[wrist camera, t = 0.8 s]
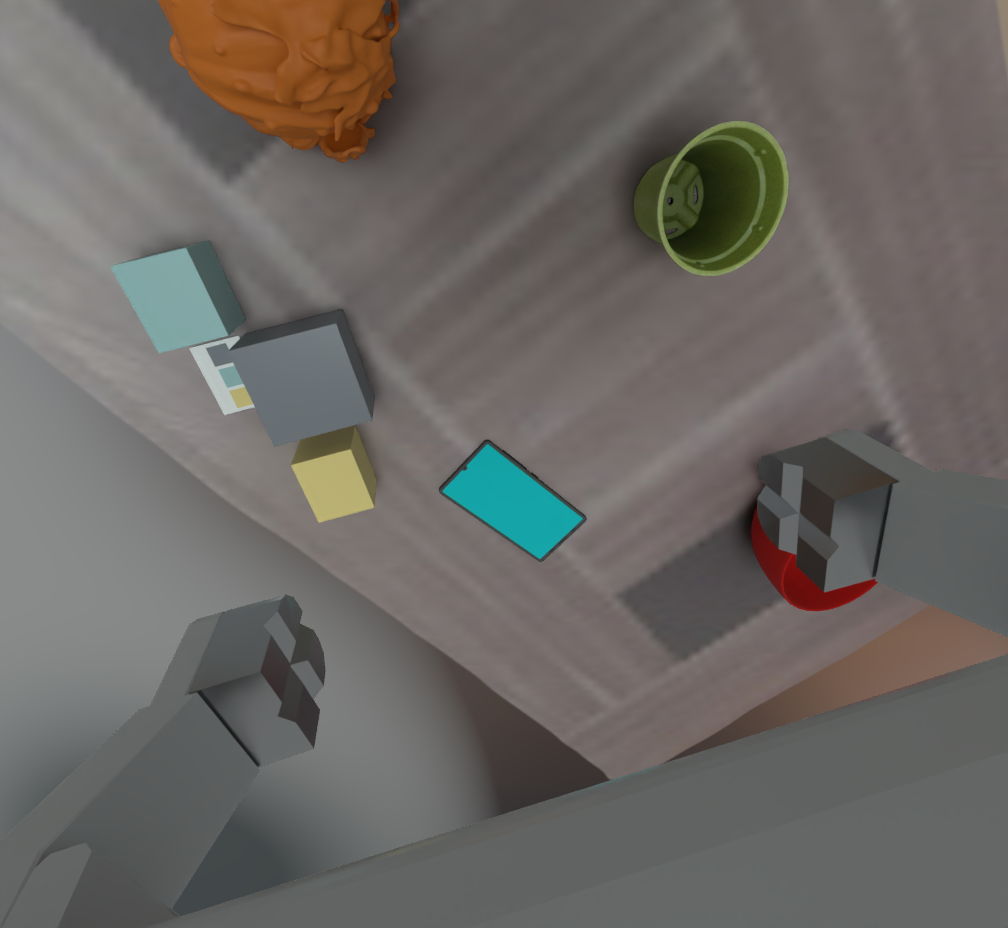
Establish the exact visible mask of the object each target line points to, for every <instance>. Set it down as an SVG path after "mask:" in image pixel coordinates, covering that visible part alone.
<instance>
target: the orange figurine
mask: <svg viewBox="0 0 1008 928" xmlns="http://www.w3.org/2000/svg"><path fill="white" fill-rule="evenodd" d="M158 1H159V4H160V6H161V8H162V10H163V12H164V14H165V15H166V17H167V19H168V21H169V23H170V25H171V27H172V30H173V32H174V35H173V36H172V37H171V39H170V43H169V48H170V52H171V54H172V56H173V58H174V60H175V61H176V62H177V63H178V64H179V65H180V66H182V67H184V68H187V70H188V72H189V74H190V76H191V78H192V79H193V81H194V82H195V84H196V85H197V86H198V87H199V88H200V89H201V90H202V91H203V92H204V93H205V94H206V95H208V96H209V97H210V98H211V99H213V100H214V101H215V102H216V103H218V104H219V105H220V106H222V107H223V108H225V109H226V110H228V111H230V112H232V113H234V114H236V115H239V116H241V117H242V118H243V119H244V120H245V121H246V122H247V123H248V124H250V125H251V126H252V127H253V128H254V129H256V130H257V131H259V132H261V133H264V134H268V135H274V136H278V137H281V138H282V139H283V140H284V141H285V142H286V143H288V144H289V145H290V146H291V147H292V148H297V149H300V150H307V149H310V148H312V147H314V146H315V145H316V144H317V143H318V145H319V147H320V148H321V150H322V151H323V152H324V154H325V155H326V156H328V157H331V158H334V159H335V160H337V161H339V162H342V163H344V162H346V161H347V160H348V159H349V158H353V159H355V160H358V158H359V156H360V155H362V154H364V153H365V152H366V146H367V144H368V139H370V138H372V137H374V136H375V133H374V131H375V129H374V128H367V127H365V126H364V124H365V123H366V122H367V121H368V120H369V118H370V117H371V115H373V114H374V113H376V112H377V110H378V108H379V104H380V103H381V101H382V99H383V97H384V98H386V99H391V98H393V96H392V94H391V93H390V92H389V90H388V88H389V87H391V86H392V85H393V84H394V83H395V82H396V77H395V75H394V71H393V68H394V62H393V58H392V56H391V55H390V49H391V43H392V37H394V36H395V35H396V34H397V32H398V30H399V27H400V24H399V22H398V16H399V2H398V0H389V1H391V14H389V15H387V16H386V15H385V14H384V12H383V10H382V7H383V5H384V4H385V2H386V0H158ZM392 21H393V23H394V27H393V29H392V30H391V31H390V29H389V26H388V23H390V22H392Z"/></svg>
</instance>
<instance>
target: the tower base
mask: <svg viewBox="0 0 1008 928" xmlns="http://www.w3.org/2000/svg"><path fill="white" fill-rule="evenodd" d="M228 353H229V355H230V357H231V359H232V362H233V364H234V366H235V368H236V370H237V372H238V374H239V376H240V378H241V380H242V382H243V384H244V386H245V388H246V390H247V392H248V394H249V396H250V398H251V400H252V402H253V404H254V406H255V408H256V410H257V412H258V414H259V416H260V418H261V420H262V422H263V424H264V426H265V428H266V431H267V433H268V435H269V437H270V439H271V441H272V443H273V445H274V446H278V445H282V444H286V443H289V442H293V441H297V440H301V439H304V438H308V437H312V436H316V435H319V434H323V433H327V432H330V431H334V430H338V429H342V428H345V427H349V426H353V425H357V424H360V423H364V422H368V421H372V417H373V408H374V400H375V398H374V395H373V392H372V389H371V387H370V384H369V381H368V378H367V376H366V373H365V370H364V367H363V365H362V362H361V359H360V356H359V354H358V351H357V348H356V345H355V343H354V340H353V337H352V334H351V331H350V329H349V326H348V323H347V320H346V318H345V315H344V312H343V309H340V310H336V311H332V312H328V313H324V314H320V315H317V316H313V317H309V318H305V319H301V320H297V321H293V322H289V323H285V324H281V325H277V326H274V327H270V328H266V329H262V330H258V331H254V332H250V333H246V334H244V335H243V336H242V337H241V338H240V339H239V340H238V341H237V342H236V343H235V344H234V345H233V346H232V347H231V348H230V349H229V350H228Z"/></svg>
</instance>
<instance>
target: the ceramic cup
mask: <svg viewBox="0 0 1008 928" xmlns="http://www.w3.org/2000/svg"><path fill="white" fill-rule="evenodd" d="M751 540H752V546H753V550H754V553H755V556H756V558H757V560H758V562H759V564H760V566H761V568H762V570H763V571H764V573H765V574H766V576H767V577H768V579H769V580H770V581H771V583H772V584H773V585H774V587H775V588H776V589H777V590H778V592H779V593H780V594H781V595H782V596H783V597H784V598H785V599H786V600H787V601H788V602H789V603H790V604H791V605H793V606H795V607H797V608H798V609H802V610H806V611H823V610H829V609H833V608H836V607H840V606H842V605H844V604H847V603H849V602H851V601H853V600H855V599H856V598H858V597H860V596H862V595H863V594H864V593H866V592H867V591H869V590H870V589H871V588H872V587H873V586H874V585H876V584H877V583H878V582H876V581H875V579H876V578H875V579H871V580H868V581H864V582H860V583H857V584H853V585H850V586H846V587H842V588H839V589H835V590H831V591H828V592H823V591H822V590H821V589H820V588H819V587H818V586H817V585H816V584H815V583H814V582H812V581H811V580H810V579H809V578H808V577H807V576H806V575H805V574H804V573H803V572H802V571H801V570H800V569H799V568H798V567H797V566H796V555H795V554H792V553H789V552H786V551H783V550H780V549H778V548H777V547H776V546H775V545H774V544H773V543H772V542H771V541H770V540H769V538H768V537H767V535H766V534H765V532H764V531H763V529H762V526H761V523H760V521H759V518H758V515H757V506H756V508H755V511H754V514H753V521H752V527H751Z"/></svg>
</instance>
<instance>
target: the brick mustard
mask: <svg viewBox="0 0 1008 928" xmlns="http://www.w3.org/2000/svg"><path fill="white" fill-rule="evenodd" d="M291 466H292V468H293V470H294V472H295V474H296V476H297V479H298V481H299V483H300V485H301V487H302V489H303V491H304V493H305V495H306V497H307V499H308V501H309V503H310V505H311V507H312V509H313V512H314V514H315V516H316V518H317V520H318V522H319V523H320V522H323V521H327V520H331V519H334V518H338V517H342V516H345V515H349V514H352V513H356V512H360V511H363V510H367V509H371V508H374V507H375V495H376V482H377V479H376V477H375V474H374V472H373V469H372V467H371V464H370V462H369V459H368V457H367V454H366V452H365V449H364V447H363V444H362V441H361V439H360V436H359V434H358V431H357V429H356V426H355V425H353V426H349V427H346V428H342V429H338V430H334V431H331V432H327V433H323V434H319V435H316V436H312V437H308V438H304V439H301V440H300V443H299V446H298V448H297V451H296V453H295V456H294V459H293V461H292V464H291Z"/></svg>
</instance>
